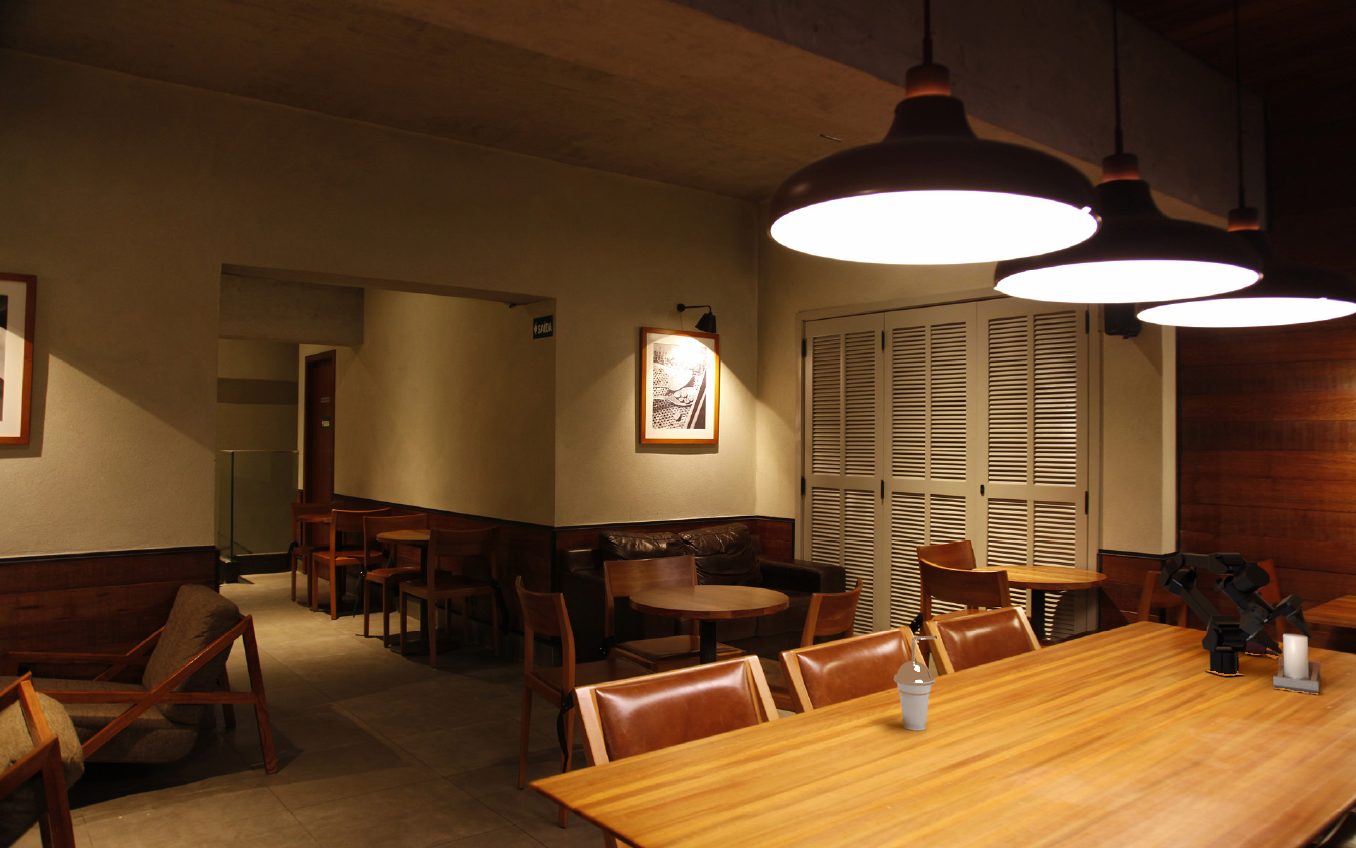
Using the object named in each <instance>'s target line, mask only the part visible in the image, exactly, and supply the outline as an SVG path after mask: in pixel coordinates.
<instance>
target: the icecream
mask: <svg viewBox="0 0 1356 848" xmlns="http://www.w3.org/2000/svg"><path fill="white" fill-rule="evenodd" d="M1272 640H1273V641H1274V642H1275V643H1276V644H1277V645H1278V646H1279V647H1280V644H1279V642H1278V640H1274V639H1272ZM1245 652H1248V653H1253V654H1262V655H1264V654H1270V655H1275V656H1279V657H1280V654H1278V653H1276V652H1274V651H1273V650H1271V649H1268V648H1267V647H1265V646H1263V645H1261V644H1258V643H1255V642H1248V643H1247V645H1246V649H1245Z"/></svg>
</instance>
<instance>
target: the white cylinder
mask: <svg viewBox="0 0 1356 848" xmlns="http://www.w3.org/2000/svg"><path fill="white" fill-rule="evenodd" d="M1308 640H1309V639H1308V637H1307V636H1306V635H1305V634H1299V633H1298V634H1296V633H1283V635H1282V641H1283V647H1282V648H1283V650H1282V652H1283V657H1284V677H1287V678H1295V679H1302V680H1309V675H1308V660H1309V644H1308Z"/></svg>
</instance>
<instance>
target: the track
mask: <svg viewBox="0 0 1356 848" xmlns="http://www.w3.org/2000/svg"><path fill="white" fill-rule="evenodd" d="M1277 661H1278V662H1277V663H1278V671H1279V672H1278V671H1277V675H1273V677H1272V679H1273V688H1274V687H1275V688H1285V689H1290V690H1294V691H1304V692H1309V693H1318V692H1319V693H1320V688H1319V685H1320V686H1321V681H1320V678H1321V679H1322V673H1321V661H1315V660H1309V659H1308V675H1309V680H1302V679H1295V678H1287V677H1284V656H1283V657H1282V656H1279V657H1278V659H1277Z"/></svg>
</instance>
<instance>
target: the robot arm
mask: <svg viewBox="0 0 1356 848" xmlns="http://www.w3.org/2000/svg"><path fill="white" fill-rule="evenodd" d="M1182 568H1189V569H1182ZM1197 568H1198V569H1206V570H1208V571H1209V573H1213V574H1215V575H1229V576H1227V577H1224V578H1222V577H1218V578H1217V579H1216V580H1215V581H1213V584H1214V587H1213V590H1214V592H1217V593H1218V592H1219V591H1221V592H1222V593H1224V595H1225V596H1226V597H1228V598H1229V599H1230V601H1232V602H1233V603H1234V604H1235V605H1236V606H1237V607H1236V610H1237V612H1238V613H1239V614H1240V618H1239V620H1238V619H1237V617H1235V615H1222V614H1221V613H1220V612H1219V611H1218V609H1217V608H1216V607H1215V606H1214V605H1213V604H1212V603H1211V602H1210V601H1209V600H1208V598H1207V597H1206V596H1205V595H1204V594H1203V593H1202V592H1201V591H1200V590H1199V589H1198V588H1197V587H1196V583H1197V581H1196V580H1197V578H1198V576H1199V573H1198V571H1197ZM1158 580H1159V584H1160V585H1161V587H1162V588H1163V589H1164V590H1165V591H1167V592H1168V593H1169V594H1172V595H1174V596H1178V597H1179V598H1181V599H1182V601H1183V602H1184V603H1185V604H1186V606H1188V607H1189V609H1190V610H1191V611H1192V612H1193V613H1194V614H1195V615H1196V617H1198V619H1199V620H1200V621H1201V622H1202V623H1203V624H1204V625H1205V627H1206V634H1205V636H1204V638H1202V640H1201V644H1202V650H1205V651H1208V652H1209V669H1210V671H1216V672H1218V673H1224V674H1236V673H1237V671H1239V672H1240V657H1239V653H1245V649H1246V645H1247V643H1248V642H1255V643H1258V644H1261V645H1263V646H1265V647H1267V649H1268V650H1270V651H1274V652H1275V653H1277V654H1278V655H1282V654H1283V650H1282V649H1281V647H1280V645H1279V646H1278V645H1277V644H1276V643H1275V642H1274V641H1273V640H1274V639H1273V638H1272V637H1271V636H1270V635H1269V634H1268V632H1266V631H1265V630H1264V628H1265V625H1266V624H1269V622H1271V621H1273V620H1275V619H1277V618H1278V617H1280V616H1281V617H1285V618H1284V620H1285V621H1287V622H1290V623H1291V624H1293V625H1294V626H1295V627H1296V628H1297V629H1298V630H1299V631H1300V632H1301V633H1302V635H1304V636H1307V637H1308V638H1309V639H1312V637H1313V635H1312V633H1311V630H1310V628H1309V625H1308V624H1307V621H1306V619H1305V616H1304V614H1303V613H1304V612H1303V609H1302V608H1303V607H1304V605H1303V603H1304V602H1305V600H1304V599H1303V598H1301V596H1299V595H1297V594H1294V593H1291V594H1290V595H1288V596H1287V597H1285V598H1284V599H1282V600H1281V601H1280V602H1279V603H1278V604H1277V605H1275V604H1274V603H1270V604H1269V603H1268V602H1267V601H1266V600H1265V599H1264V598H1263V597H1262V595H1263V592H1261V591H1260V590H1262V588H1264V587H1267V586H1268V585H1269V584H1270V582H1271V577H1270V574H1269V573H1268V572H1267V570H1265V569H1264V568H1263V567H1261V566H1259V565H1258V562H1257V561H1247V559H1245V557H1243V555H1242V554H1241V553H1240V552H1213V553H1209V554H1200V553H1199V554H1198V553H1194V552H1179V553H1177V554H1176V555H1175V556H1174V558H1173V560H1171V561H1170V562H1168V563H1166V564H1165V565H1164V566H1163V568H1162V570H1161V571H1160V574H1159V576H1158Z"/></svg>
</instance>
